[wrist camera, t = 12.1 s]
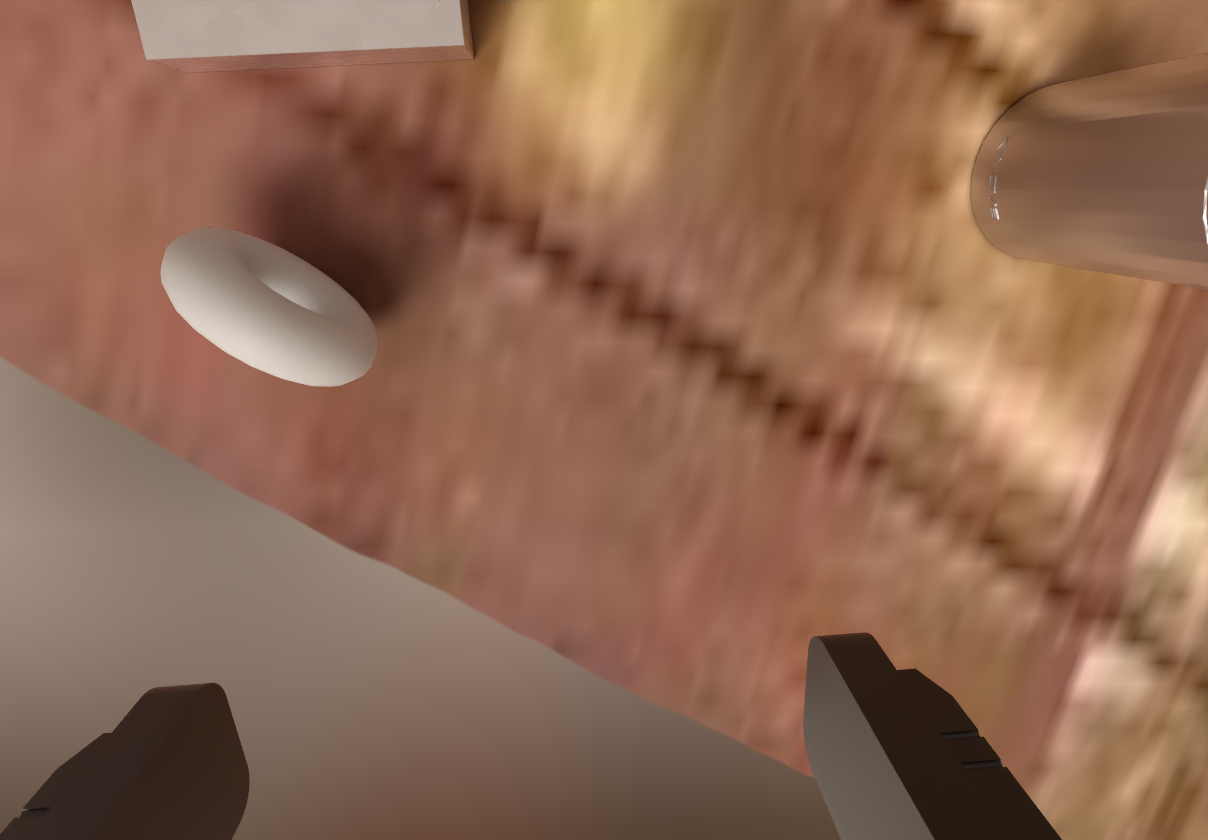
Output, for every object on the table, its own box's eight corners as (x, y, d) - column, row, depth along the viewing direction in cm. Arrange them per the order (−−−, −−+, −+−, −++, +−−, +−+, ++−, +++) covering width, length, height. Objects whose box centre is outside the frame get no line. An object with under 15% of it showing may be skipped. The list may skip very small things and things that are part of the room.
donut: (410, 322, 37) (358, 368, 28) (378, 369, 38) (316, 429, 28) (247, 207, 35) (129, 215, 25) (216, 260, 35) (90, 287, 26)
